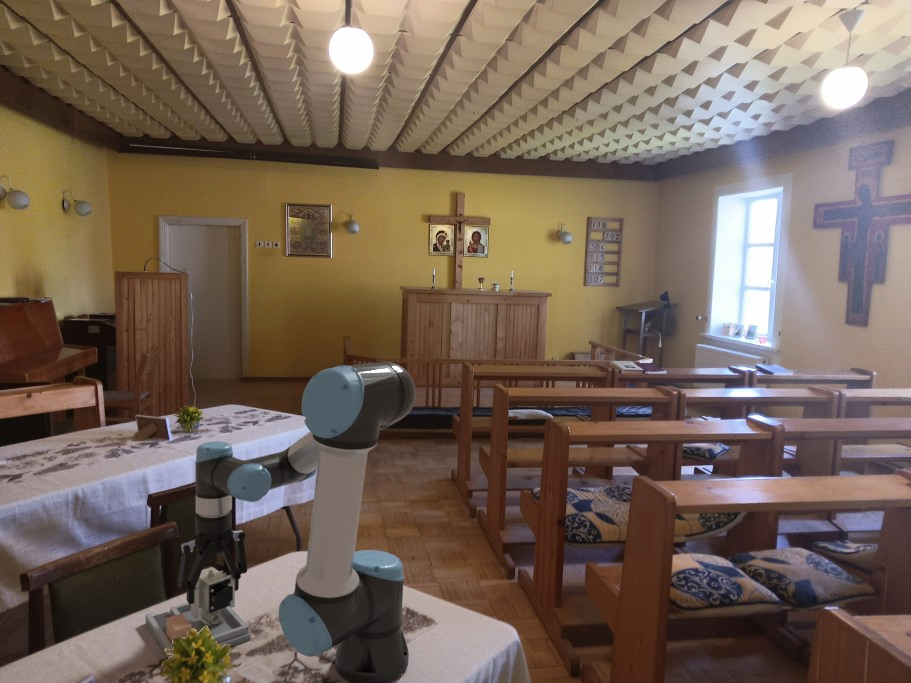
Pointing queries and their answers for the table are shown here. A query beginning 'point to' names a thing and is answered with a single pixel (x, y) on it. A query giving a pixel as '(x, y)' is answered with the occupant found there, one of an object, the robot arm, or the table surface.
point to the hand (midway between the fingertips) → (213, 610)
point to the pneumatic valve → (213, 594)
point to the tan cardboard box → (176, 627)
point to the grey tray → (201, 626)
